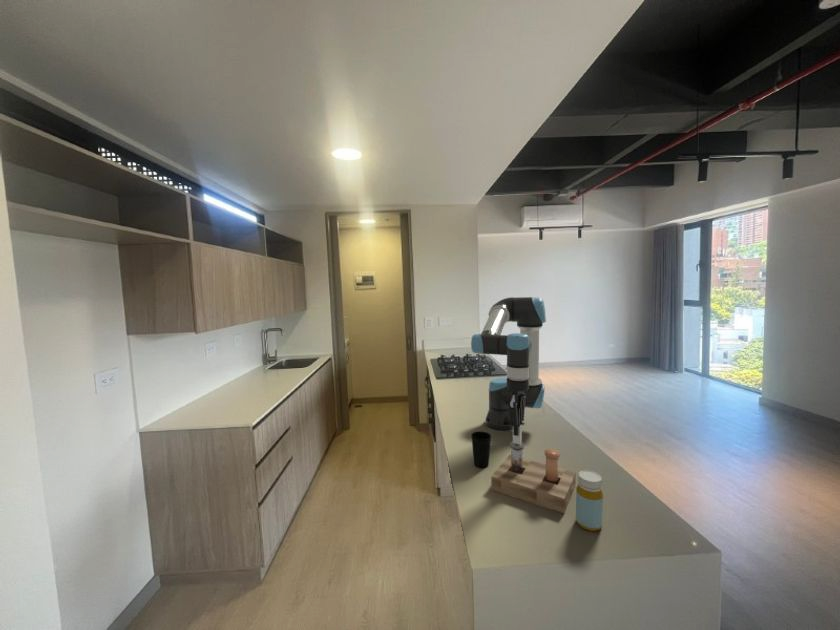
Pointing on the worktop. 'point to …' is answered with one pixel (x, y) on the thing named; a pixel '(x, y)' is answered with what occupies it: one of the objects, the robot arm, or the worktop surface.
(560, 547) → the worktop surface
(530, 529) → the worktop surface
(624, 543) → the worktop surface
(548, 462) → the terracotta plug
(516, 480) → the block
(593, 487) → the bottle
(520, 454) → the grey plug
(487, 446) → the cup
